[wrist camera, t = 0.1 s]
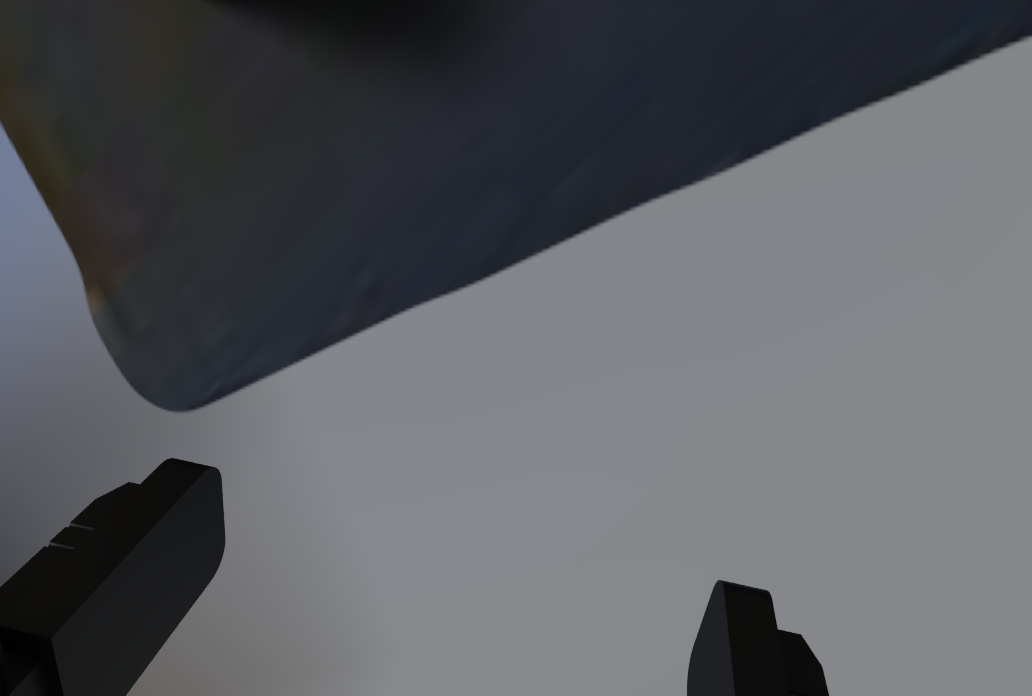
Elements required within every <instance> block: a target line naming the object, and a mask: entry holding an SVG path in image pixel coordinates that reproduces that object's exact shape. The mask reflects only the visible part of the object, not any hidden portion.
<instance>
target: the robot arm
mask: <svg viewBox="0 0 1032 696" xmlns="http://www.w3.org/2000/svg"><path fill="white" fill-rule="evenodd" d="M224 527H225V525H224V510H223V494H222V479H221V474H220V472H219V470H218V469H217V468H215V467H211V466H206V465H202V464H197V463H193V462H188V461H184V460H179V459H174V458H170V459H167V460H165V461H164V462H163V463H162V464H160V465H159V466H158V467H157V468H156V469H155V470H154V471H153V472H152V473H151V474H150V475H149V476H148V477H147V478H146V479H145V480H144V481H143V482H142V483H141V484H136V483H130V482H128V483H126V484H124V485H122V486H120V487H118V488H116V489H114V490H113V491H111V492H109V493H107V494H105V495H103V496H101V497H99V498H97V499H95V500H94V501H93V502H92V503H91V504H90V505H89V506H88V507H87V508H85V509H84V510H83V511H82V512H81V513H80V514H79V515H78V516H77V517H76V518H75V519H73V520H72V521H71V523H70V526H69V527H65V528H64V529H63V530H62V531H61V532H59V533H58V534H57V535H56V536H55V537H54V538H53V539H52V540H51V541H50V544H49V546H48V547H43V548H42V549H41V550H40V551H39V552H38V553H37V554H36V555H35V556H34V557H32V558H31V559H30V560H29V561H28V562H27V563H26V564H25V565H24V566H23V567H22V568H21V569H19V570H18V571H17V572H16V573H15V574H14V575H13V576H12V577H11V578H10V579H9V580H8V581H7V582H5V583H4V584H3V585H2V586H1V587H0V696H126V694H127V693H128V692H129V691H130V689H131V688H132V686H133V685H134V684H135V682H136V681H137V680H138V678H139V677H140V676H141V674H142V673H143V672H144V670H145V669H146V668H147V666H148V665H149V664H150V662H151V661H152V660H153V658H154V657H155V655H156V654H157V653H158V651H159V650H160V649H161V647H162V646H163V645H164V643H165V642H166V641H167V639H168V638H169V636H170V635H171V634H172V632H173V631H174V630H175V628H176V627H177V626H178V624H179V623H180V622H181V620H182V619H183V618H184V616H185V615H186V614H187V612H188V611H189V610H190V608H191V607H192V606H193V604H194V603H195V602H196V600H197V599H198V598H199V596H200V595H201V594H202V592H203V591H204V589H205V588H206V587H207V585H208V584H209V583H210V581H211V580H212V579H213V577H214V575H215V574H216V572H217V569H218V568H219V565H220V563H221V560H222V557H223V553H224V547H225V528H224ZM687 696H829V693H828V689H827V685H826V681H825V677H824V672H823V668H822V666H821V664H820V663H819V661H818V660H817V658H816V657H815V655H814V654H813V652H812V651H811V649H810V648H809V646H808V645H807V643H806V642H805V640H804V638H803V637H802V635H801V634H796V633H792V632H787V631H783V630H778V629H777V623H776V618H775V612H774V607H773V602H772V597H771V595H770V593H769V592H768V591H767V590H763V589H758V588H753V587H749V586H745V585H740V584H736V583H731V582H726V581H721V580H718V581H717V583H716V584H715V586H714V588H713V591H712V594H711V597H710V600H709V602H708V605H707V608H706V611H705V614H704V617H703V620H702V623H701V626H700V629H699V632H698V634H697V638H696V640H695V643H694V646H693V649H692V653H691V658H690V663H689V670H688V680H687Z"/></svg>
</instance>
